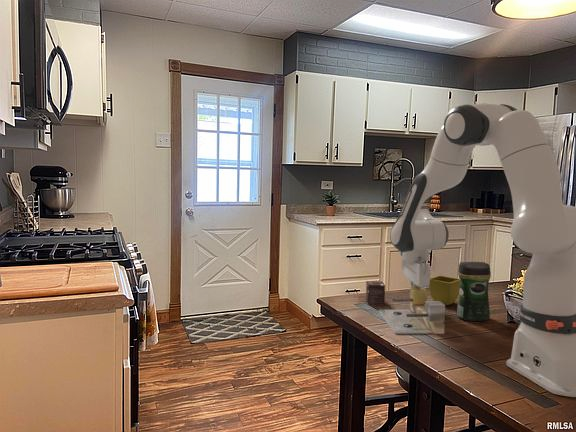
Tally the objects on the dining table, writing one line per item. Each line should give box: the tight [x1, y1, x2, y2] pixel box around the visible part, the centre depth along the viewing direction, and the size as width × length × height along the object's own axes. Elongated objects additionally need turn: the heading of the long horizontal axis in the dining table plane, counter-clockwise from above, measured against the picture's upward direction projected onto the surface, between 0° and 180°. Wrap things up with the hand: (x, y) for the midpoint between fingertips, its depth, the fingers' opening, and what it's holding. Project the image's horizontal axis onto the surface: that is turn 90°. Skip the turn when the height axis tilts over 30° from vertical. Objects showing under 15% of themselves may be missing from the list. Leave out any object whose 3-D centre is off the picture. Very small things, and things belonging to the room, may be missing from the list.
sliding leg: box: [392, 286, 428, 306], centre depth 146 cm, size 4×11×5 cm, turn 91°
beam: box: [406, 300, 446, 335], centre depth 138 cm, size 24×11×8 cm, turn 1°
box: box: [365, 280, 386, 306], centre depth 158 cm, size 6×6×7 cm
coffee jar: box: [456, 261, 492, 322], centre depth 140 cm, size 10×8×19 cm
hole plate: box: [379, 309, 430, 335], centre depth 136 cm, size 20×10×1 cm, turn 1°
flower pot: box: [428, 275, 460, 306], centre depth 157 cm, size 9×9×9 cm
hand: (414, 293), depth 150 cm, fingers closed
